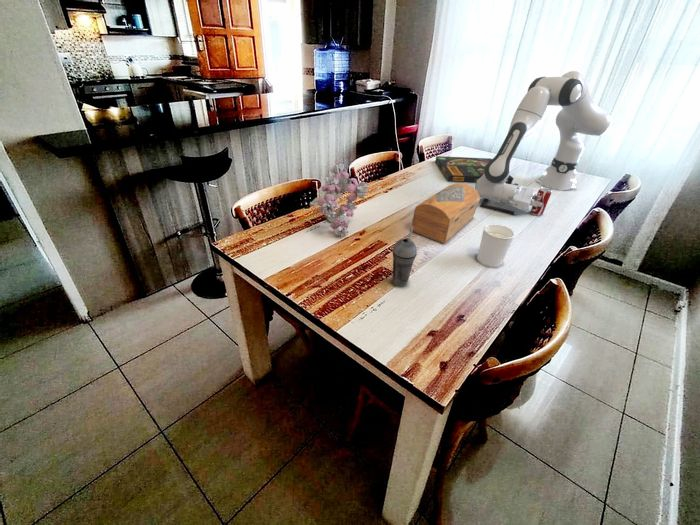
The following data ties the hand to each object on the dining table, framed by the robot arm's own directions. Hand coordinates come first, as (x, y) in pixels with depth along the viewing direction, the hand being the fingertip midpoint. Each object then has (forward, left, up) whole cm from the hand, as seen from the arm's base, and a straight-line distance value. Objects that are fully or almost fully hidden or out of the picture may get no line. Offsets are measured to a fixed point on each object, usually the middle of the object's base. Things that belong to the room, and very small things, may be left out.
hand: (542, 202), depth 145 cm
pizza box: (-39, -41, -6) cm, 57 cm away
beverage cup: (+83, -31, -6) cm, 89 cm away
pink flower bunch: (+65, -66, -6) cm, 93 cm away
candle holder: (+53, -10, -6) cm, 54 cm away
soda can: (0, -1, -6) cm, 6 cm away
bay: (0, -17, -6) cm, 18 cm away
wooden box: (+36, -33, -6) cm, 49 cm away
